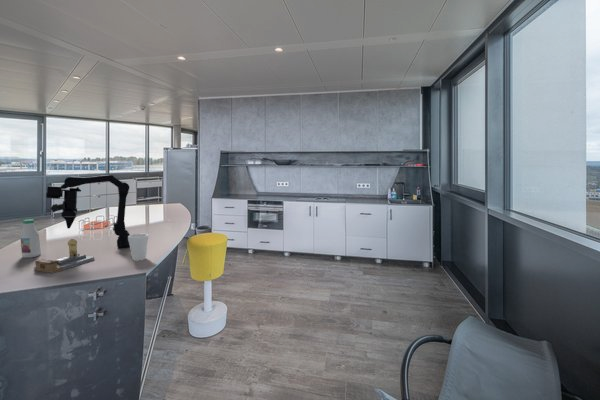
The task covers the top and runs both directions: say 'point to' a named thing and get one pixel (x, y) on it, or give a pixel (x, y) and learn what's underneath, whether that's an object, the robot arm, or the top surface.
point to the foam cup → (138, 246)
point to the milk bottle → (30, 240)
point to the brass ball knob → (70, 250)
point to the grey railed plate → (60, 263)
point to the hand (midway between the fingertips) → (69, 226)
